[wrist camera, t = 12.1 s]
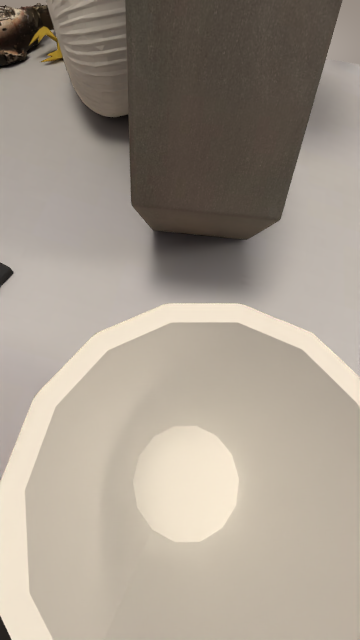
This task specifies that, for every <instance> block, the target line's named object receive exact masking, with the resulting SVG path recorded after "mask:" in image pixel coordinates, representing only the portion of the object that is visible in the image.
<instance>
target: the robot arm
mask: <svg viewBox="0 0 360 640" xmlns="http://www.w3.org/2000/svg"><path fill="white" fill-rule="evenodd" d="M0 640H12V639H11V637H10V635H9V633H8V631H7V629H6V627H5V625H4V623H3V620H2V618H1V616H0Z"/></svg>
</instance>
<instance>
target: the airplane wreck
mask: <svg viewBox="0 0 360 640" xmlns="http://www.w3.org/2000/svg"><path fill="white" fill-rule="evenodd" d="M0 7H4V9H2V8H0V10H3V11H0V66H2V65H7V64H8V65H9V64H12V63H16V62H19V61H20V60H23V59H25V57H26V56H28V55H27V54H28V53H26V52H27V50H28V49H29V48H32V47H33V45H34V46H37V45H39V44H38V43H39V42H38V38H37V39H36V40H35V41H34V42H33V43H31V44H30V42H31V41H32V39H33V37H34V35H35V34H36V33H37V32H38V30H39V29H41V28H42V27H43V26H44V27H47V28H48V29H49V30H54V28H53V27H54V26H53V23H52V19H51V16H50V13H49V9H48V6H47V5H46V6H43V5H42V6H41V4H40V3H37V5H34V6H32V7H21V8H19V9H18V8H17V9H16V8H11V7H8V6H6V5H5V6H0ZM5 7H6V9H5ZM8 8H10V9H9V10H8ZM29 44H30V45H29ZM21 53H22V54H21ZM26 58H27V57H26ZM25 60H26V59H25Z"/></svg>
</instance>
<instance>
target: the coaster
mask: <svg viewBox="0 0 360 640" xmlns="http://www.w3.org/2000/svg"><path fill="white" fill-rule="evenodd" d="M12 273H13V271H12V270H11V268H9V267H8V266H6V265H4V264H2V263H0V286H1V285H2V284H3V283H4V282H5V281H6V280H7V279H8V277H9V276H10V275H11V274H12Z"/></svg>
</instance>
